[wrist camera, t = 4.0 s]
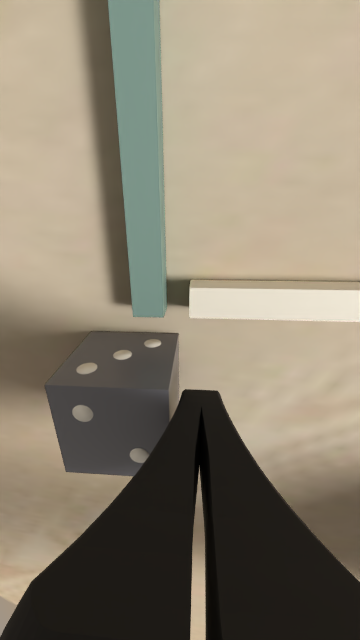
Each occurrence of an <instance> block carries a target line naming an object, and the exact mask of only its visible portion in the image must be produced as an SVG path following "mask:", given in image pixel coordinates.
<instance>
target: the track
mask: <svg viewBox="0 0 360 640" xmlns="http://www.w3.org/2000/svg"><path fill="white" fill-rule="evenodd" d="M108 9H109V21H110V34H111V47H112V59H113V72H114V84H115V97H116V109H117V122H118V134H119V147H120V159H121V172H122V184H123V197H124V210H125V222H126V235H127V247H128V260H129V272H130V285H131V297H132V310H133V317H164V314H165V312H166V309H167V284H166V244H165V205H164V165H163V126H162V86H161V47H160V7H159V0H108ZM189 318H211V319H255V320H299V321H343V322H360V282H329V281H253V280H191V281H190V295H189Z"/></svg>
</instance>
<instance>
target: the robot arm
mask: <svg viewBox="0 0 360 640" xmlns="http://www.w3.org/2000/svg"><path fill="white" fill-rule="evenodd" d="M199 465H200V478H201V490H202V502H203V514H204V527H205V580H206V640H360V582H359V581H358V580H357V579H356V578H355V577H354V576H353V575H352V574H351V573H350V572H349V571H348V570H347V569H346V568H345V567H344V566H343V565H342V564H341V563H340V562H339V561H338V560H337V559H336V558H335V557H334V555H333V554H332V553H331V552H330V551H329V550H328V549H327V548H326V547H325V546H324V545H323V544H322V543H321V542H320V541H319V540H318V539H317V537H316V536H315V535H314V534H313V533H312V532H311V531H310V529H309V528H308V527H307V526H306V525H305V524H304V522H303V521H302V520H301V519H300V518H299V517H298V516H297V514H296V513H295V512H294V511H293V510H292V509H291V508H290V506H289V505H288V504H287V503H286V502H285V500H284V499H283V498H282V496H281V495H280V494H279V493H278V491H277V490H276V489H275V488H274V486H273V485H272V484H271V482H270V481H269V480H268V478H267V477H266V476H265V474H264V473H263V471H262V470H261V469H260V467H259V466H258V464H257V463H256V461H255V460H254V458H253V457H252V455H251V454H250V452H249V450H248V449H247V447H246V446H245V444H244V442H243V441H242V439H241V437H240V436H239V434H238V432H237V430H236V428H235V427H234V425H233V423H232V421H231V419H230V417H229V415H228V413H227V411H226V409H225V406H224V404H223V402H222V399H221V396H220V393H219V392H218V391H212V390H187V389H185V390H184V391H183V392H182V395H181V398H180V401H179V404H178V406H177V408H176V410H175V412H174V415H173V416H172V418H171V420H170V422H169V424H168V426H167V428H166V430H165V431H164V433H163V435H162V436H161V438H160V439H159V441H158V443H157V444H156V446H155V447H154V449H153V451H152V452H151V454H150V455H149V456H148V458H147V459H146V461H145V462H144V464H143V465H142V466H141V468H140V469H139V470H138V472H137V473H136V474H135V476H134V477H133V478H132V479H131V481H130V482H129V483H128V484H127V485H126V487H125V488H124V489H123V490H122V492H121V493H120V494H119V495H118V496H117V497H116V499H115V500H114V501H113V502H112V503H111V504H110V505H109V506H108V508H107V509H106V510H105V511H104V512H103V513H102V514H101V515H100V516H99V517H98V518H97V519H96V520H95V521H94V522H93V523H92V524H91V525H90V526H89V527H88V529H87V530H86V531H85V532H84V533H83V534H82V535H81V536H80V537H79V538H78V539H77V540H76V541H75V542H74V543H73V544H72V545H70V546H69V547H68V548H67V549H66V550H65V551H64V552H63V553H62V554H61V555H60V556H59V557H58V558H56V559H55V560H54V561H53V562H52V563H51V564H50V565H49V566H48V567H47V568H46V569H45V570H44V571H42V572H41V573H40V574H39V575H38V576H37V577H36V578H35V579H34V580H33V581H32V582H31V583H30V585H29V587H28V588H27V590H26V592H25V593H24V595H23V597H22V598H21V600H20V602H19V603H18V605H17V607H16V609H15V611H14V613H13V614H12V616H11V618H10V620H9V621H8V623H7V625H6V627H5V629H4V631H3V633H2V635H1V637H0V640H190V622H191V581H192V541H193V525H194V515H195V505H196V494H197V484H198V474H199Z"/></svg>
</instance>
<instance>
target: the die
mask: <svg viewBox="0 0 360 640" xmlns="http://www.w3.org/2000/svg"><path fill="white" fill-rule="evenodd" d="M45 389H46V393H47V397H48V401H49V405H50V409H51V413H52V418H53V422H54V426H55V430H56V434H57V438H58V442H59V446H60V450H61V454H62V458H63V462H64V466H65V470H66V472H75V473H91V474H107V475H122V476H135V474H136V473H137V472H138V470H139V469H140V468H141V466H142V465H143V464H144V462H145V461H146V459H147V458H148V456H149V455H150V454H151V452H152V451H153V449H154V447H155V446H156V444H157V443H158V441H159V439H160V438H161V436H162V435H163V433H164V431H165V430H166V428H167V426H168V424H169V422H170V420H171V418H172V416H173V415H174V412H175V410H176V408H177V406H178V404H179V334H177V333H140V332H103V331H91V332H90V333H89V335H88V336H87V337H86V338H85V339H84V340H83V341H82V343H81V344H80V345H79V346H78V347H77V348H76V349H75V351H74V352H73V353H72V354H71V355H70V356H69V357H68V358H67V360H66V361H65V362H64V363H63V364H62V365H61V366H60V368H59V369H58V370H57V371H56V372H55V373H54V374H53V376H52V377H51V378H50V379H49V380H48V381H47V382H46V384H45Z"/></svg>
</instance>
